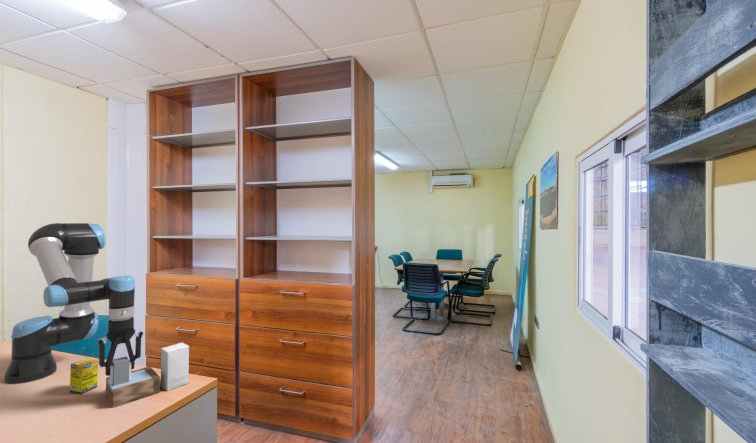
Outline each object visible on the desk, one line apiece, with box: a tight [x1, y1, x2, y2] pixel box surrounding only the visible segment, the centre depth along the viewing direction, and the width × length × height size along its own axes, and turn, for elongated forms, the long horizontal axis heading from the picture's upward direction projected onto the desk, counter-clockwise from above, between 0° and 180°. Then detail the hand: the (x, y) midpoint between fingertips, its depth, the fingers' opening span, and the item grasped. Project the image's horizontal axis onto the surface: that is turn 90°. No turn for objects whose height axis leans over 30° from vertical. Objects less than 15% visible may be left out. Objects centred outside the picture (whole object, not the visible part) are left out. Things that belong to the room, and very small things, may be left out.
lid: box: [107, 356, 152, 392], centre depth 124 cm, size 12×11×9 cm
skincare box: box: [160, 342, 190, 392], centre depth 132 cm, size 8×7×16 cm
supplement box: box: [69, 357, 99, 395], centre depth 127 cm, size 6×6×11 cm
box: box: [105, 366, 161, 408], centre depth 125 cm, size 14×13×6 cm
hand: (119, 380), depth 122 cm, fingers closed on lid, 5 cm apart
